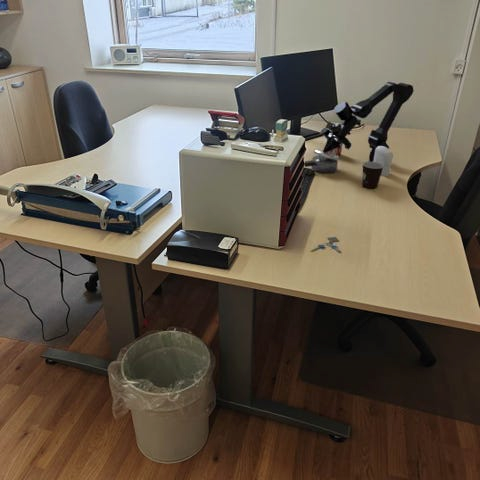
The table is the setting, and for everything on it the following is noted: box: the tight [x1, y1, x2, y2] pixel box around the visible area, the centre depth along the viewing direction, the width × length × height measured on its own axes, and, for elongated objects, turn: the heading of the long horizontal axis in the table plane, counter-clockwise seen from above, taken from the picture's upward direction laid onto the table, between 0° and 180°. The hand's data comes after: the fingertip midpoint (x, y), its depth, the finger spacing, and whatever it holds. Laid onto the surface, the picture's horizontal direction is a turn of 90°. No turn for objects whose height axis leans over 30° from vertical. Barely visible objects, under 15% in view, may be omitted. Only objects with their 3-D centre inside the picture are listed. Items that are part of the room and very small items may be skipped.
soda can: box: [328, 132, 344, 157], centre depth 229 cm, size 7×7×12 cm
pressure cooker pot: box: [304, 155, 339, 175], centre depth 211 cm, size 18×12×5 cm, turn 113°
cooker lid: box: [313, 148, 340, 161], centre depth 209 cm, size 12×12×2 cm
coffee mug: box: [361, 161, 383, 190], centre depth 193 cm, size 12×9×10 cm
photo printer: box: [373, 146, 394, 177], centre depth 207 cm, size 10×4×12 cm, turn 17°
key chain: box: [310, 236, 342, 253], centre depth 148 cm, size 14×8×1 cm, turn 141°
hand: (323, 152), depth 208 cm, fingers closed, pressing on cooker lid
